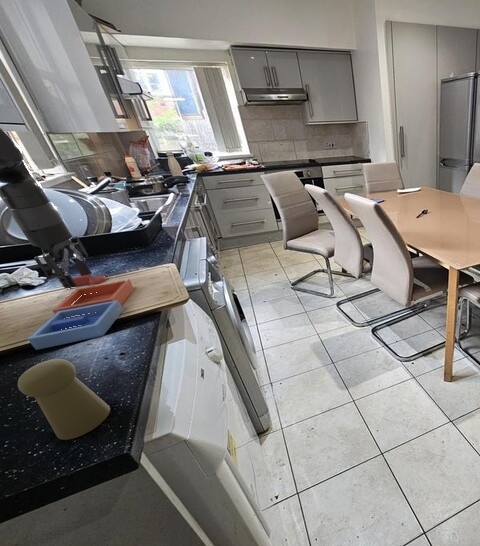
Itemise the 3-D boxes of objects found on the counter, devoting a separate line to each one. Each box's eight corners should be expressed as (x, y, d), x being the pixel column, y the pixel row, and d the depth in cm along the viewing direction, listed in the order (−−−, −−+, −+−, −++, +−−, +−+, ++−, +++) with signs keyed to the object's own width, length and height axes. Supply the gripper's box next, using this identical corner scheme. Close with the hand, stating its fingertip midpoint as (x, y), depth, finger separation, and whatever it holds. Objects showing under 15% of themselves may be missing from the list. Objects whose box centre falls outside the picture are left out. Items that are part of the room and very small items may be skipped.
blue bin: (36, 350, 62) (27, 339, 61) (65, 321, 70) (57, 311, 69) (104, 336, 65) (96, 325, 64) (124, 310, 73) (118, 300, 72)
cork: (117, 399, 50) (79, 347, 45) (101, 431, 45) (56, 376, 40) (70, 412, 49) (25, 359, 43) (47, 447, 44) (-7, 392, 38)
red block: (65, 290, 83) (60, 282, 82) (73, 284, 86) (68, 276, 85) (103, 283, 86) (98, 276, 84) (108, 278, 88) (104, 270, 87)
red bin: (59, 321, 71) (52, 310, 69) (83, 298, 79) (76, 288, 78) (118, 309, 74) (112, 299, 72) (134, 289, 82) (129, 279, 81)
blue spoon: (54, 337, 65) (47, 327, 64) (63, 327, 68) (57, 318, 67) (102, 327, 67) (96, 318, 66) (109, 318, 70) (103, 309, 69)
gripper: (41, 216, 82) (77, 272, 90) (0, 235, 70) (45, 298, 78) (76, 212, 84) (108, 267, 92) (42, 230, 72) (82, 291, 80)
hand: (79, 281), depth 85 cm, fingers open, 7 cm apart
